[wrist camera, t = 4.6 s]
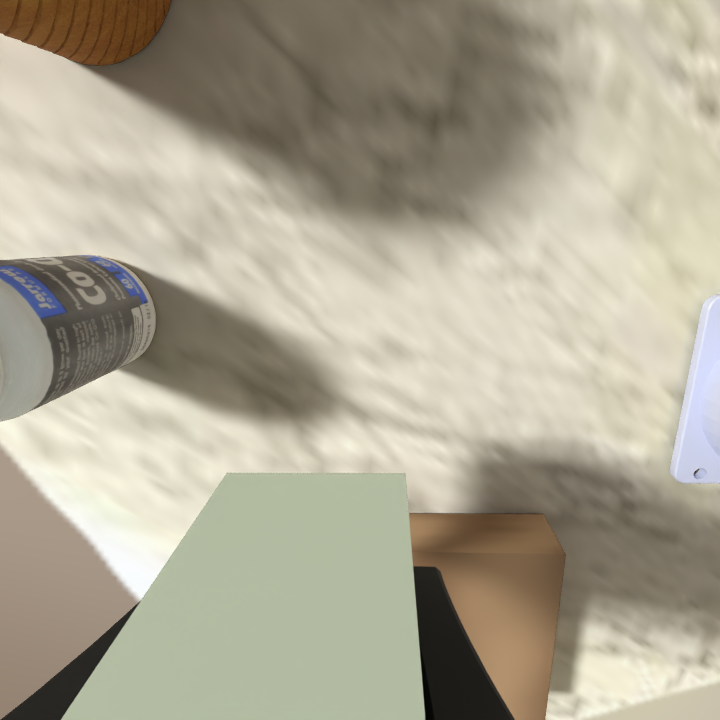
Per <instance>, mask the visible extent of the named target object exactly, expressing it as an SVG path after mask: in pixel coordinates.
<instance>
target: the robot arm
mask: <svg viewBox="0 0 720 720" xmlns="http://www.w3.org/2000/svg"><path fill="white" fill-rule="evenodd" d="M697 469H700V470H699V471H698V472H697V473H695V474H694V472H695V471H696V470H697ZM670 474H671V476H672V477H673V478H674V479H676V480H677V481H678V482H680V483H720V294H718V295H713V296H711V297H709V298H708V299H707V300H706V301H705V302H704V304H703V306H702V310H701V315H700V320H699V325H698V330H697V335H696V340H695V345H694V350H693V355H692V360H691V365H690V370H689V375H688V380H687V385H686V390H685V395H684V400H683V405H682V410H681V416H680V421H679V426H678V431H677V436H676V441H675V446H674V451H673V456H672V461H671V466H670ZM413 572H414V585H415V597H416V609H417V622H418V634H419V647H420V659H421V672H422V684H423V697H424V709H425V720H515V719H514V717H513V716H512V714H511V712H510V711H509V709H508V707H507V705H506V704H505V702H504V700H503V699H502V697H501V695H500V694H499V692H498V690H497V689H496V687H495V685H494V683H493V682H492V680H491V678H490V676H489V674H488V673H487V671H486V669H485V667H484V665H483V663H482V662H481V660H480V658H479V656H478V654H477V652H476V650H475V648H474V646H473V645H472V643H471V641H470V639H469V637H468V635H467V633H466V631H465V629H464V627H463V625H462V623H461V620H460V618H459V616H458V614H457V612H456V610H455V608H454V605H453V603H452V601H451V598H450V596H449V594H448V591H447V589H446V586H445V583H444V581H443V578H442V575H441V571H440V570H439V569H438V568H437V567H426V566H413ZM139 603H140V602H139ZM139 603H138V604H139ZM138 604H137V605H135V606H134V607H133V608H132V609H131V610H130V611H129V612H128V613H127V614H126V615H125V616H123V617H122V618H121V619H120V620H119V621H118V622H117V623H116V624H114V625H113V626H112V627H111V628H110V629H109V630H108V631H107V632H106V633H105V634H103V635H102V636H101V637H100V638H99V639H98V640H97V641H96V642H94V643H93V644H92V645H91V646H90V647H89V648H87V649H86V650H85V651H84V652H83V653H82V654H80V655H79V656H78V657H77V658H76V659H74V660H73V661H72V662H71V663H70V664H69V665H67V666H66V667H65V668H64V669H63V670H61V671H60V672H59V673H58V674H57V675H55V676H54V677H53V678H52V679H51V680H50V681H48V682H47V683H46V684H45V685H44V686H42V687H41V688H40V689H39V690H38V691H36V692H35V693H34V694H33V695H31V696H30V697H29V698H28V699H27V700H25V701H24V702H23V703H21V704H20V705H19V706H18V707H16V708H15V709H14V710H13V711H11V712H10V713H9V714H8V715H6V716H5V717H4V718H2V719H1V720H61V719H62V717H63V716H64V714H65V713H66V711H67V710H68V708H69V707H70V705H71V704H72V702H73V701H74V699H75V698H76V696H77V695H78V694H79V692H80V691H81V689H82V688H83V686H84V685H85V683H86V682H87V680H88V679H89V677H90V676H91V674H92V673H93V671H94V670H95V668H96V667H97V665H98V664H99V662H100V661H101V659H102V658H103V656H104V655H105V653H106V652H107V650H108V649H109V647H110V646H111V644H112V643H113V642H114V640H115V639H116V637H117V636H118V634H119V633H120V631H121V630H122V628H123V627H124V625H125V624H126V622H127V621H128V619H129V618H130V616H131V615H132V613H133V612H134V610H135V609H136V607H137V606H138Z"/></svg>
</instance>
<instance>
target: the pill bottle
mask: <svg viewBox="0 0 720 720" xmlns="http://www.w3.org/2000/svg"><path fill="white" fill-rule="evenodd" d="M155 327H156V312H155V308H154V304H153V301H152V298H151V296H150V294H149V292H148V290H147V289H146V287H145V286H144V284H143V283H142V282H141V280H140V279H139V278H138V277H137V276H136V275H135V274H134V273H133V272H132V271H131V270H129V269H128V268H126V267H125V266H123V265H121V264H120V263H118V262H116V261H114V260H111V259H108V258H105V257H101V256H95V255H77V256H63V257H42V258H28V259H13V260H0V421H5V420H9V419H13V418H16V417H19V416H21V415H23V414H25V413H27V412H29V411H31V410H33V409H36V408H38V407H40V406H42V405H44V404H46V403H48V402H50V401H52V400H54V399H57V398H59V397H61V396H63V395H65V394H67V393H69V392H71V391H73V390H75V389H77V388H79V387H81V386H83V385H85V384H87V383H89V382H91V381H94V380H96V379H98V378H100V377H101V376H103V375H106V374H108V373H110V372H112V371H114V370H116V369H118V368H120V367H122V366H124V365H126V364H128V363H130V362H132V361H134V360H135V359H137V358H138V357H139V356H141V355H142V354H143V353H144V352H145V351H146V349H147V348H148V347H149V345H150V343H151V341H152V339H153V336H154V333H155Z"/></svg>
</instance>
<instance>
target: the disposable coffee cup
mask: <svg viewBox="0 0 720 720" xmlns="http://www.w3.org/2000/svg"><path fill="white" fill-rule="evenodd" d="M170 3H171V0H0V33H3V34H4V35H5V36H8V37H11V38H14V39H18V40H21V41H22V42H24V43H27V44H31V45H34V46H37V47H38V48H41V49H44V50H47V51H50V52H52V53H54V54H57V55H60V56H63V57H65V58H67V59H69V60H72V61H76V62H79V63H83V64H86V65H103V66H104V65H109V64H114V63H119V62H121V61H123V60H125V59H127V58H129V57H131V56H133V55H135V54H137V53H138V52H140V51H141V50H142V49H143V48H144V47H146V46H147V45H148V44H149V42H150V41H151V40H152V38H153V37H154V36H155V34H156V33H157V32H158V30H159V29H160V28H161V25H162V23H163V21H164V19H165V16H166V14H167V12H168V10H169V6H170Z"/></svg>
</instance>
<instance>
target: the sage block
mask: <svg viewBox="0 0 720 720" xmlns="http://www.w3.org/2000/svg"><path fill="white" fill-rule="evenodd" d="M61 720H425V709H424V697H423V684H422V672H421V659H420V647H419V634H418V622H417V609H416V597H415V585H414V572H413V560H412V547H411V535H410V522H409V510H408V497H407V485H406V473H227V474H226V475H225V477H224V478H223V480H222V481H221V483H220V484H219V486H218V487H217V488H216V490H215V491H214V493H213V494H212V496H211V497H210V499H209V500H208V502H207V503H206V505H205V506H204V508H203V509H202V511H201V512H200V514H199V515H198V517H197V518H196V520H195V521H194V523H193V524H192V526H191V527H190V529H189V530H188V532H187V533H186V535H185V536H184V538H183V539H182V540H181V542H180V543H179V545H178V546H177V548H176V549H175V551H174V552H173V554H172V555H171V557H170V558H169V560H168V561H167V563H166V564H165V566H164V567H163V569H162V570H161V572H160V573H159V575H158V576H157V578H156V579H155V581H154V582H153V584H152V585H151V587H150V588H149V590H148V591H147V592H146V594H145V595H144V597H143V598H142V600H141V601H140V603H139V604H138V606H137V607H136V609H135V610H134V612H133V613H132V615H131V616H130V618H129V619H128V621H127V622H126V624H125V625H124V627H123V628H122V630H121V631H120V633H119V634H118V636H117V637H116V639H115V640H114V642H113V643H112V644H111V646H110V647H109V649H108V650H107V652H106V653H105V655H104V656H103V658H102V659H101V661H100V662H99V664H98V665H97V667H96V668H95V670H94V671H93V673H92V674H91V676H90V677H89V679H88V680H87V682H86V683H85V685H84V686H83V688H82V689H81V691H80V692H79V694H78V695H77V696H76V698H75V699H74V701H73V702H72V704H71V705H70V707H69V708H68V710H67V711H66V713H65V714H64V716H63V717H62V719H61Z"/></svg>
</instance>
